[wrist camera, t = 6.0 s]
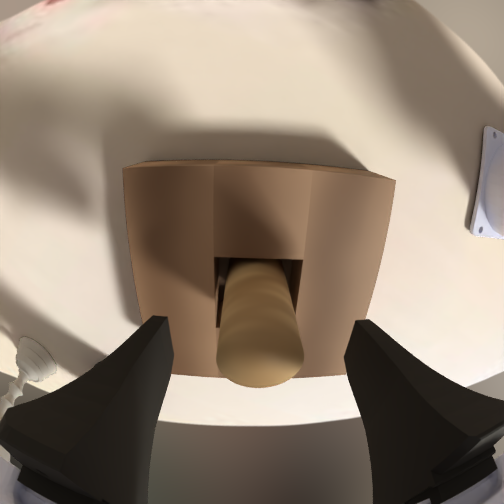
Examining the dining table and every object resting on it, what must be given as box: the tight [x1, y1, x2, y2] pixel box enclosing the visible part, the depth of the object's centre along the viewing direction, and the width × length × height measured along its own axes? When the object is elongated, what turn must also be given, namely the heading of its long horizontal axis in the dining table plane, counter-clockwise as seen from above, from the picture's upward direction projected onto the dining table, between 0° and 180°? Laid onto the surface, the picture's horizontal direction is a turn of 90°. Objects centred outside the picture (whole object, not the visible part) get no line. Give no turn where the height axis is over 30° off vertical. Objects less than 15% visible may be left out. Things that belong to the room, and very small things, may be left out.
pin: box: [216, 257, 304, 388], centre depth 12 cm, size 3×3×7 cm
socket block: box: [123, 160, 396, 378], centre depth 15 cm, size 12×12×3 cm
